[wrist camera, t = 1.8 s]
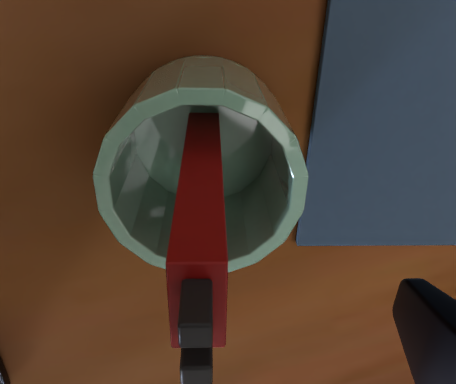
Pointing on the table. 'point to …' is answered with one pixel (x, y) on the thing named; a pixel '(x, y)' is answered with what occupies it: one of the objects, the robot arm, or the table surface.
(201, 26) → the table surface
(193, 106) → the tea cup
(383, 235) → the placemat
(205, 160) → the red rectangular bar
